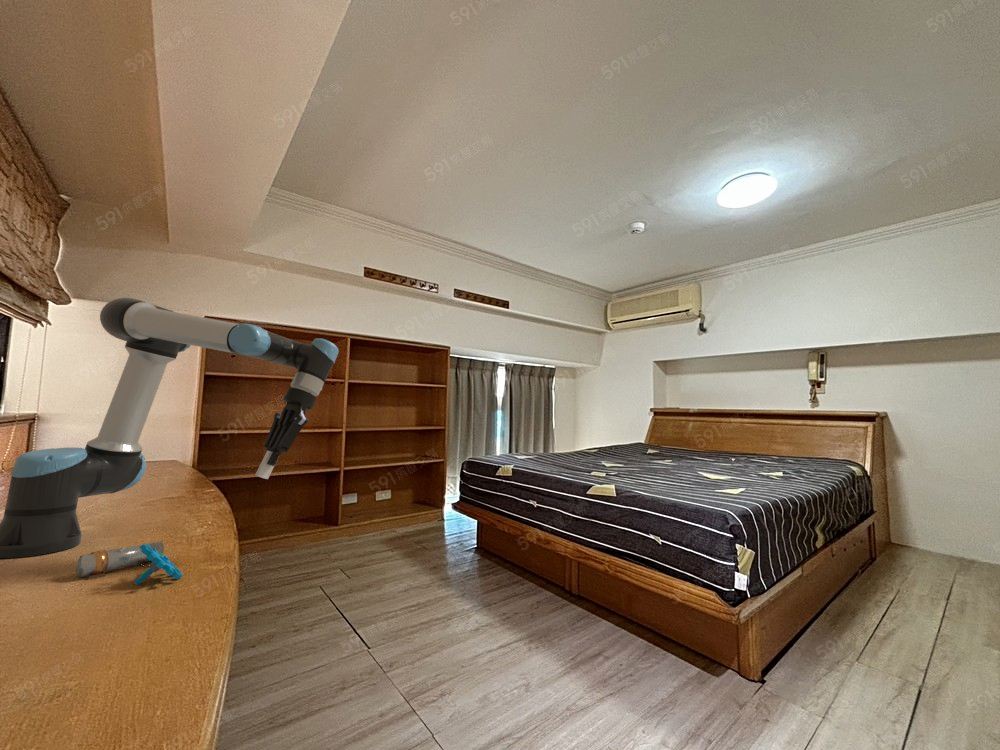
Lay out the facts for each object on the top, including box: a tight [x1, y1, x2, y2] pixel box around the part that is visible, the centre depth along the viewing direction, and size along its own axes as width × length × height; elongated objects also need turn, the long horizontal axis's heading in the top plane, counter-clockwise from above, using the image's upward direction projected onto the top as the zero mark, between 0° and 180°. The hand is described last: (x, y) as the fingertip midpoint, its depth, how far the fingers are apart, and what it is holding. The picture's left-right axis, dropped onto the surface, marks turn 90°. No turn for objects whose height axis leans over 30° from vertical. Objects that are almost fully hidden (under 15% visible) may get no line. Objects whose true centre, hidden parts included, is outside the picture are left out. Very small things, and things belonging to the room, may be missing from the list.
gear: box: [133, 543, 184, 586], centre depth 80 cm, size 11×6×10 cm
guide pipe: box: [76, 540, 165, 580], centre depth 86 cm, size 5×13×5 cm, turn 151°
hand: (261, 477), depth 100 cm, fingers closed
